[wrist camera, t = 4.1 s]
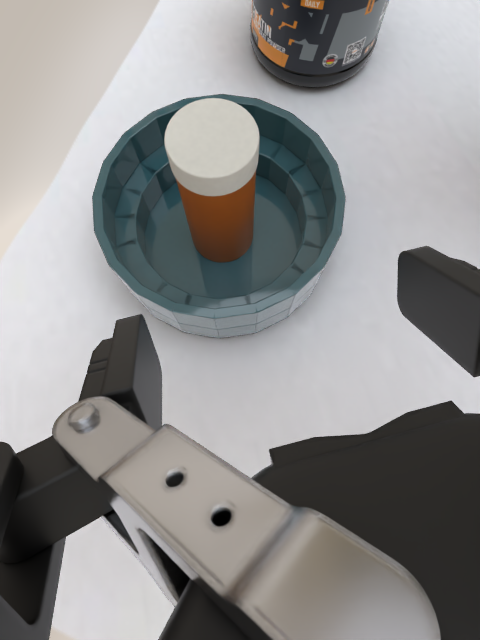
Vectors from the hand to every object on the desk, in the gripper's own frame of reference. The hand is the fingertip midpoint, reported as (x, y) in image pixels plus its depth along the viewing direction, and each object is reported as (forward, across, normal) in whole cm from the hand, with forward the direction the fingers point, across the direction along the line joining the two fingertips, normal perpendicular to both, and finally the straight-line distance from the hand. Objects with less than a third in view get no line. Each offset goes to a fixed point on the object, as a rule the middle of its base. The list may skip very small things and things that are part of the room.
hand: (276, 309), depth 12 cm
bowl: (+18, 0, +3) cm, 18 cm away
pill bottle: (+17, 0, +3) cm, 18 cm away
